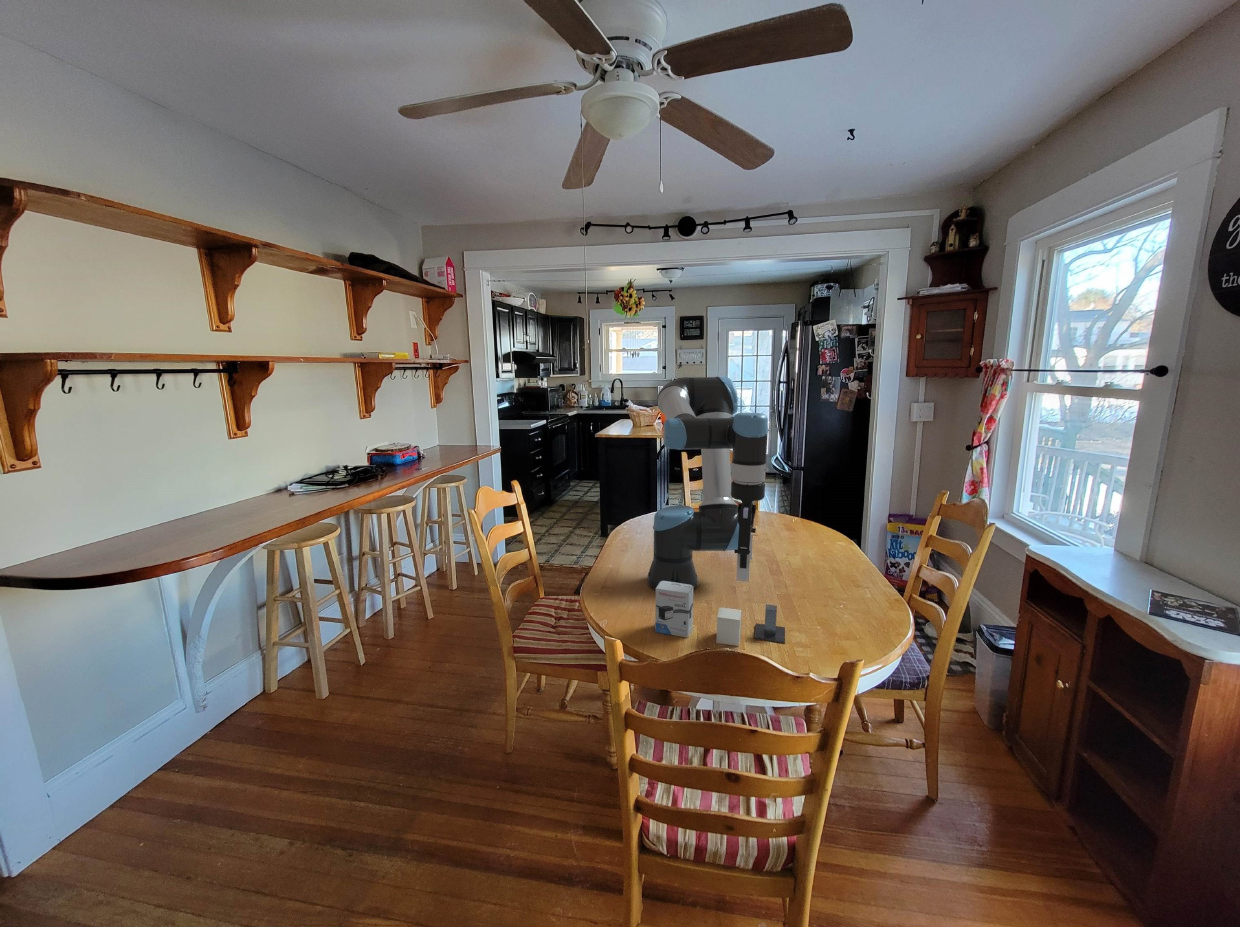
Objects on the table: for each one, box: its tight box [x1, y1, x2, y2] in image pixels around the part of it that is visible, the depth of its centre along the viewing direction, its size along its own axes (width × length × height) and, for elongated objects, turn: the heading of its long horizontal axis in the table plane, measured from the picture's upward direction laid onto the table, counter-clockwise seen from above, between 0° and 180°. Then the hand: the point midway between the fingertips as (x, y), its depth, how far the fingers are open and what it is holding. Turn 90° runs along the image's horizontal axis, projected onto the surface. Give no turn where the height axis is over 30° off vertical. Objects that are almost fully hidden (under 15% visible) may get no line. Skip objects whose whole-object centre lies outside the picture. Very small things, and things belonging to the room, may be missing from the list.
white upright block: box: [715, 606, 742, 647], centre depth 122 cm, size 5×5×7 cm
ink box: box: [654, 581, 694, 638], centre depth 125 cm, size 8×5×12 cm, turn 69°
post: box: [753, 603, 786, 644], centre depth 124 cm, size 7×7×7 cm
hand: (744, 569), depth 120 cm, fingers open, 13 cm apart
